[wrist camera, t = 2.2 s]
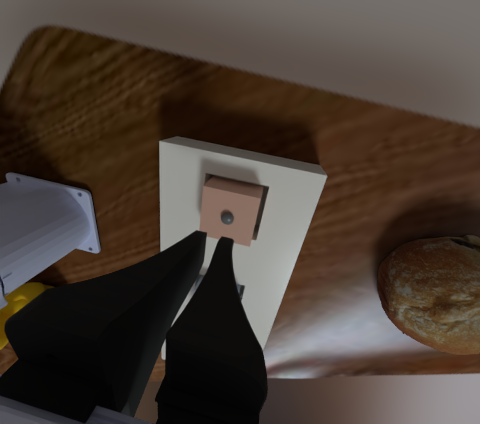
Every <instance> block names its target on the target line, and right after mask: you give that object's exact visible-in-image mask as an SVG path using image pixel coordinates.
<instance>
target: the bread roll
mask: <svg viewBox="0 0 480 424" xmlns="http://www.w3.org/2000/svg"><path fill="white" fill-rule="evenodd" d="M378 291H379V297H380V300H381V304H382V308H383V309H384V311H385V313H386V315H387V316H388V318H389V319H390V320H391V321H392V323H393V324H394V325H395V326H396V327H397V328H398V329H399V330H401V331H402V332H403V334H404V333H405V334H406V335H408V336H410V337H411V338H413V339H415V340H416V341H418V342H420V343H422V344H424V345H427V346H430V347H432V348H434V349H436V350H439V351H442V352H447V353H452V354H458V355H468V354H479V353H480V238H479V237H477V236H474V235H465V236H464V237H439V238H429V239H417V240H414V241H410V242H407V243H405V244H402V245H401V246H399V247H397V248H396V249H395V250H393V251H392V252H391V253H390V254H389V255H388V256H387V257H386V258H385V259H384V260H383V261H382V263H381V264H380V266H379V269H378Z"/></svg>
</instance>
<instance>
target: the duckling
mask: <svg viewBox="0 0 480 424" xmlns="http://www.w3.org/2000/svg"><path fill="white" fill-rule="evenodd" d="M49 288H54V287H53V286H49V285H44V284H42V283H40V282H31V283H26V284H23V285H21V286H19V287H18V288H16V289H15V290H13V291H12V292H11V293H9V294H8V295H6V296H5V297H4V298H5V300H6V301H7V302H8V304H7V305H6V306H4V307H3V308H1V309H0V350H1V349H2V348H3V347H4V346H5V345H6V344H7V343H8V339H7V337H6V334H5V332H4V328H5V322H6V321H7V320H8V318H10V317H11V316H12V315H13V314H15V313H16V312H17V311H19V310H20V309H21V308H23V307H24V306H25V305H27V304H28V303H29V302H30V301H32V300H33V299H34V298H36V297H37V296H38V295H40V294H41V293H42V292H43V291H45V290H46V289H49Z"/></svg>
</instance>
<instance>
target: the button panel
mask: <svg viewBox="0 0 480 424" xmlns="http://www.w3.org/2000/svg"><path fill="white" fill-rule="evenodd" d="M159 152H160V245H161V252H162V251H163V250H165V249H167V248H169V247H170V246H172V245H174V244H175V243H177V242H179V241H180V240H182V239H183V238H185V237H186V236H188V235H190V234H191V233H193V232H194V231H196V230H198V231H199V228H200V217H201V206H202V194H203V186H204V185H205V184H206V183H207V182H208V181H209V180H210V179H211V178H212V177H213V176H216V177H220V178H225V179H229V180H234V181H239V182H243V183H248V184H252V185H257V186H262V187H263V192H262V196H261V201H260V205H259V210H258V214H257V218H256V223H255V227H254V231H253V236H252V240H251V244H250V247H248V246H244V245H240V244H236V243H234V245H233V250H232V259H233V269H234V275H235V280H236V284H240V285H241V287H240V292H239V296H240V299H241V302H242V305H243V308H244V310H245V313H246V316H247V318H248V320H249V323H250V325H251V327H252V330H253V332H254V334H255V336H256V338H257V340H258V342H259V343H260V345H261V347H262V350H263V349H264V346H265V344H266V341H267V338H268V336H269V333H270V330H271V327H272V325H273V322H274V319H275V317H276V314H277V311H278V308H279V306H280V303H281V300H282V298H283V295H284V292H285V290H286V287H287V284H288V281H289V279H290V276H291V273H292V271H293V268H294V265H295V262H296V260H297V257H298V254H299V252H300V249H301V246H302V243H303V241H304V238H305V235H306V233H307V230H308V227H309V224H310V222H311V219H312V216H313V214H314V211H315V208H316V205H317V203H318V200H319V197H320V195H321V192H322V189H323V186H324V184H325V181H326V178H327V175H326V173H325V172H324V170H323V169H322V167H321V166H320V165H316V164H311V163H306V162H301V161H297V160H292V159H287V158H282V157H277V156H272V155H267V154H262V153H257V152H252V151H248V150H243V149H238V148H233V147H228V146H223V145H218V144H213V143H208V142H204V141H199V140H194V139H189V138H184V137H179V136H176V137H172V138H169V139H165V140H161V141H159ZM218 241H219V239H215V238H211V237H207V238H206V247H205V256H204V263H203V265H202V268H201V270H200V272H199V275H198V277H197V279H196V281H195V283H194V284H193V286H192V288H191V290H190V292H189V293H188V295H187V297H186V299H185V301H184V302H183V304H182V306H181V308H180V309H179V311H178V313H177V315H176V317H175V319H174V321H173V323H172V325H173V324H174V322H175V321H176V319H177V318H178V317H179V315H180V314H181V313H182V311H183V310H184V308H185V307H186V305H187V304H188V302H189V301H190V299H191V298H192V296H193V294H194V289H195V287H196V285H197V283H198V280H199V278H200V276H201V275H205V274H206V272H207V269H208V267H209V265H210V262H211V259H212V256H213V253H214V250H215V248H216V245H217V242H218ZM165 356H166V339H165V342H164V344H163V346H162V359H164V360H165Z"/></svg>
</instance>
